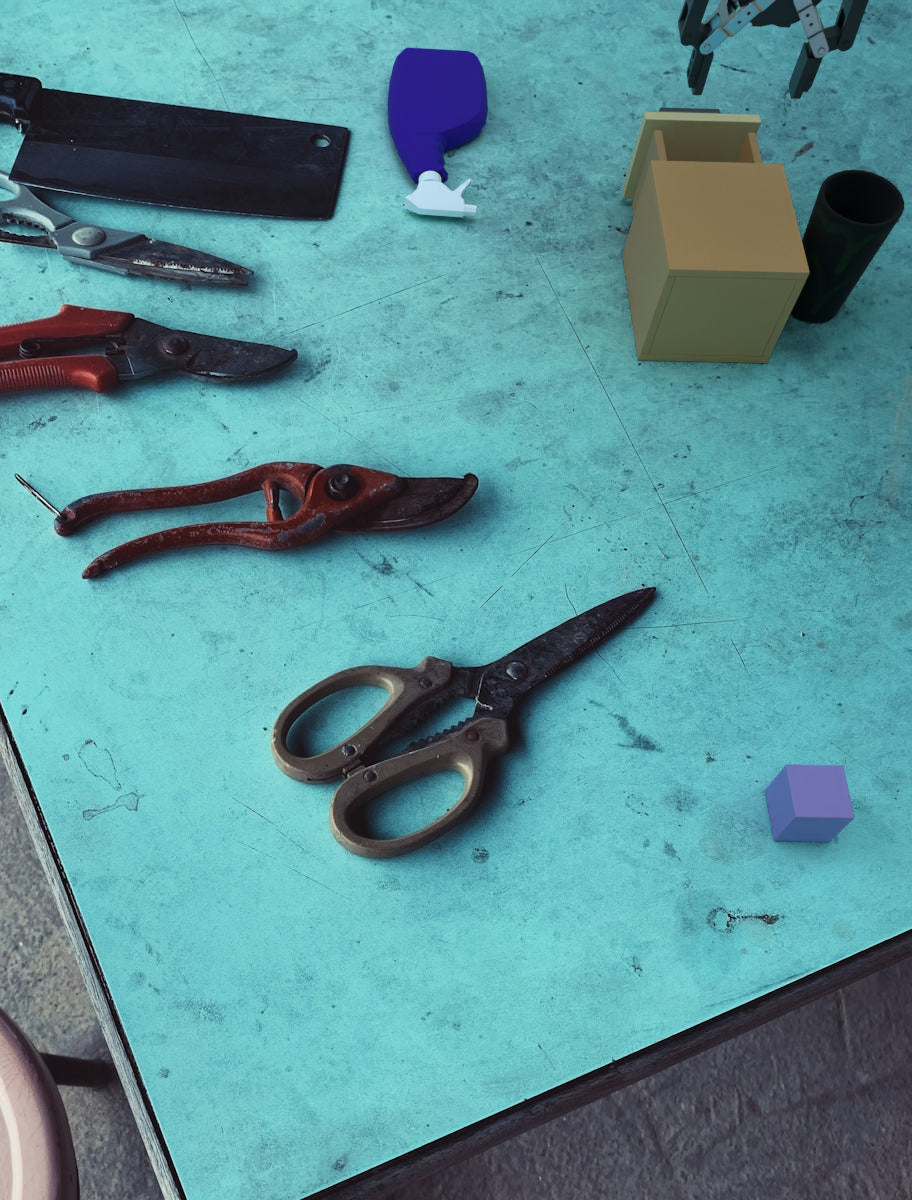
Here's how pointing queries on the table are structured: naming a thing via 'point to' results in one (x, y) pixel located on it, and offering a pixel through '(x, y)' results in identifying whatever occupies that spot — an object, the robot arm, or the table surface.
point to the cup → (844, 239)
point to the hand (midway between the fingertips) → (744, 91)
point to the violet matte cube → (809, 803)
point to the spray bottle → (435, 121)
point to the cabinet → (713, 261)
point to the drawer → (690, 141)
